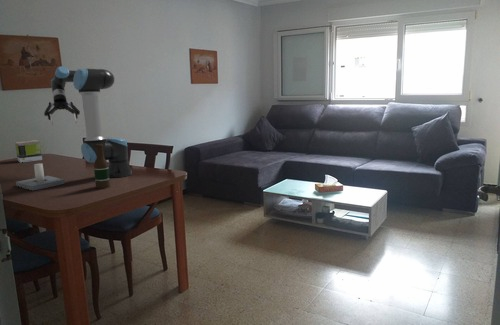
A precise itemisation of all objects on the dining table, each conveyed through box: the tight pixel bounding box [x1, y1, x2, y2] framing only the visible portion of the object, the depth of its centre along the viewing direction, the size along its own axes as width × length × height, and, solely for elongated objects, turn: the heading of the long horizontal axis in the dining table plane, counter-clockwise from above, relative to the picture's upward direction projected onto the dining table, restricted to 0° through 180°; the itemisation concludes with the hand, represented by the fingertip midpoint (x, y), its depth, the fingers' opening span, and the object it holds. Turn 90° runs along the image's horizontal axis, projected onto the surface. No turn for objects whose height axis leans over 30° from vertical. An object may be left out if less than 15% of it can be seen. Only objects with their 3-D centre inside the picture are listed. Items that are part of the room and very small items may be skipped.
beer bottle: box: [93, 144, 111, 190], centre depth 211 cm, size 8×8×24 cm
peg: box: [33, 163, 45, 183], centre depth 218 cm, size 4×4×12 cm
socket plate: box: [15, 175, 66, 191], centre depth 219 cm, size 18×18×2 cm
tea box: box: [15, 139, 43, 163], centre depth 291 cm, size 15×10×15 cm, turn 130°
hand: (64, 122), depth 240 cm, fingers open, 13 cm apart
